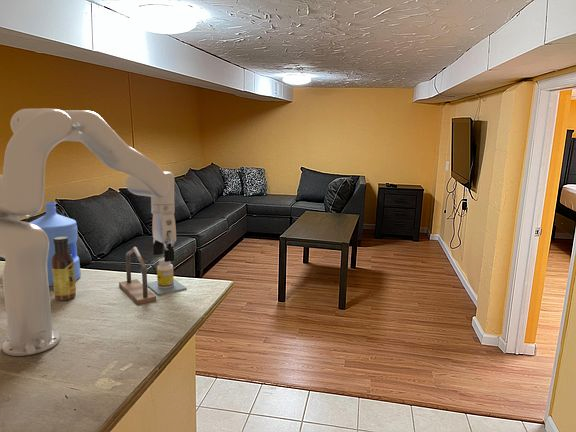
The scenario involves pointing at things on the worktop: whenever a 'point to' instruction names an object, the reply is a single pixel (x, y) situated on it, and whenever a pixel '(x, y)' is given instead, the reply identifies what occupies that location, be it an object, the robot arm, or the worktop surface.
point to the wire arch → (137, 282)
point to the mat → (162, 291)
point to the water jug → (58, 228)
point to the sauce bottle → (63, 271)
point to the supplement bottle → (165, 274)
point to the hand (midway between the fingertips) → (163, 257)
